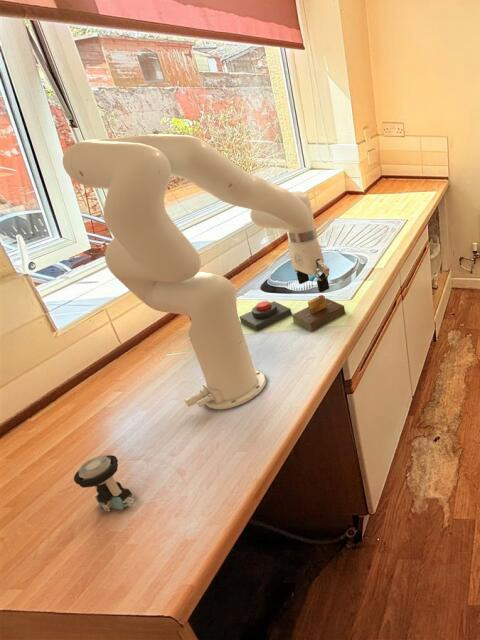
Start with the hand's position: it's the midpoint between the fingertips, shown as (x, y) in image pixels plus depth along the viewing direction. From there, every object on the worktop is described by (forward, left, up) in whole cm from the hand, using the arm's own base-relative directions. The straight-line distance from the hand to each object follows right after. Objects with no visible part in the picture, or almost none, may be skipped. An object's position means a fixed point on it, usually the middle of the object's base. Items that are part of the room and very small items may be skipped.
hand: (314, 286), depth 123 cm
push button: (-57, -23, -12) cm, 63 cm away
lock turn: (0, 0, -8) cm, 8 cm away
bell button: (-9, +14, -8) cm, 18 cm away
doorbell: (-9, +14, -11) cm, 20 cm away
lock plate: (0, 0, -11) cm, 11 cm away
